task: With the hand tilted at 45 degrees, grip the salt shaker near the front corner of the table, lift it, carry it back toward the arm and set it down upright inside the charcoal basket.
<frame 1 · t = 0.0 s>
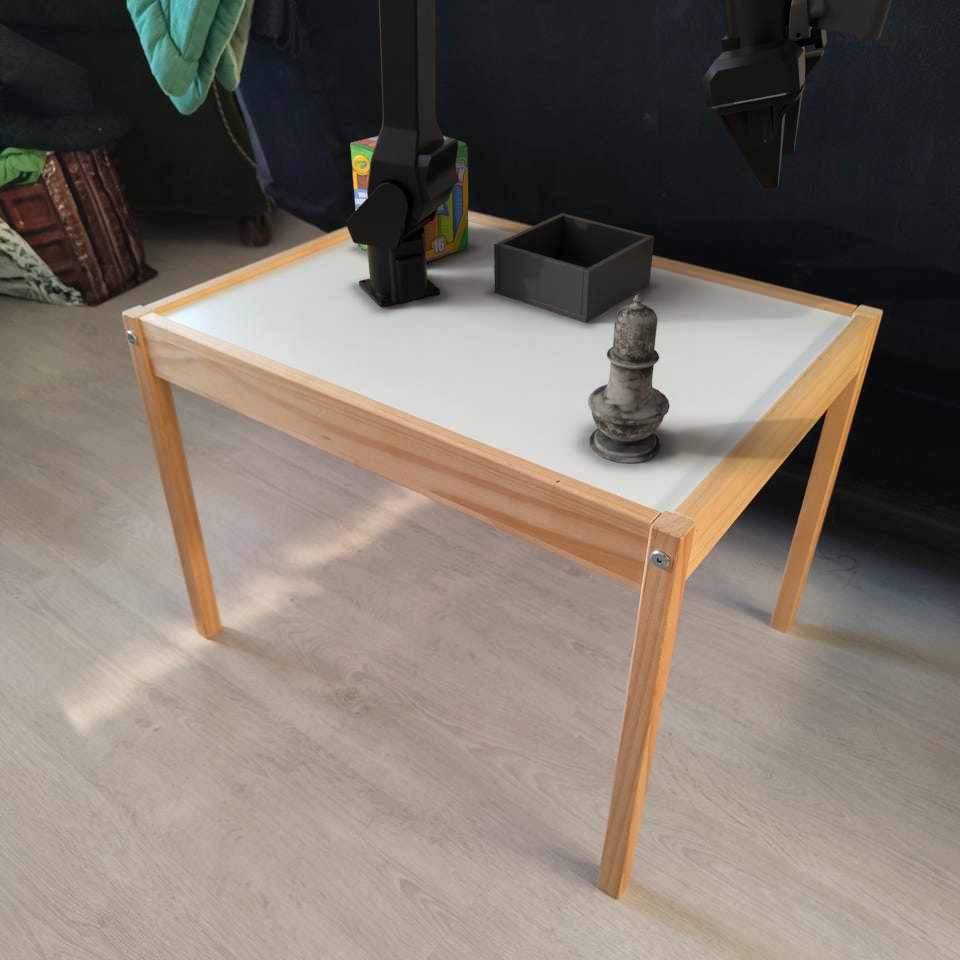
hand: (779, 170, 70), 15 cm above the table, tool pointing down, fingers open, 9 cm apart
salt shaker: (624, 445, 67), on the table
chalk box: (414, 250, 100), on the table
basket: (572, 289, 90), on the table
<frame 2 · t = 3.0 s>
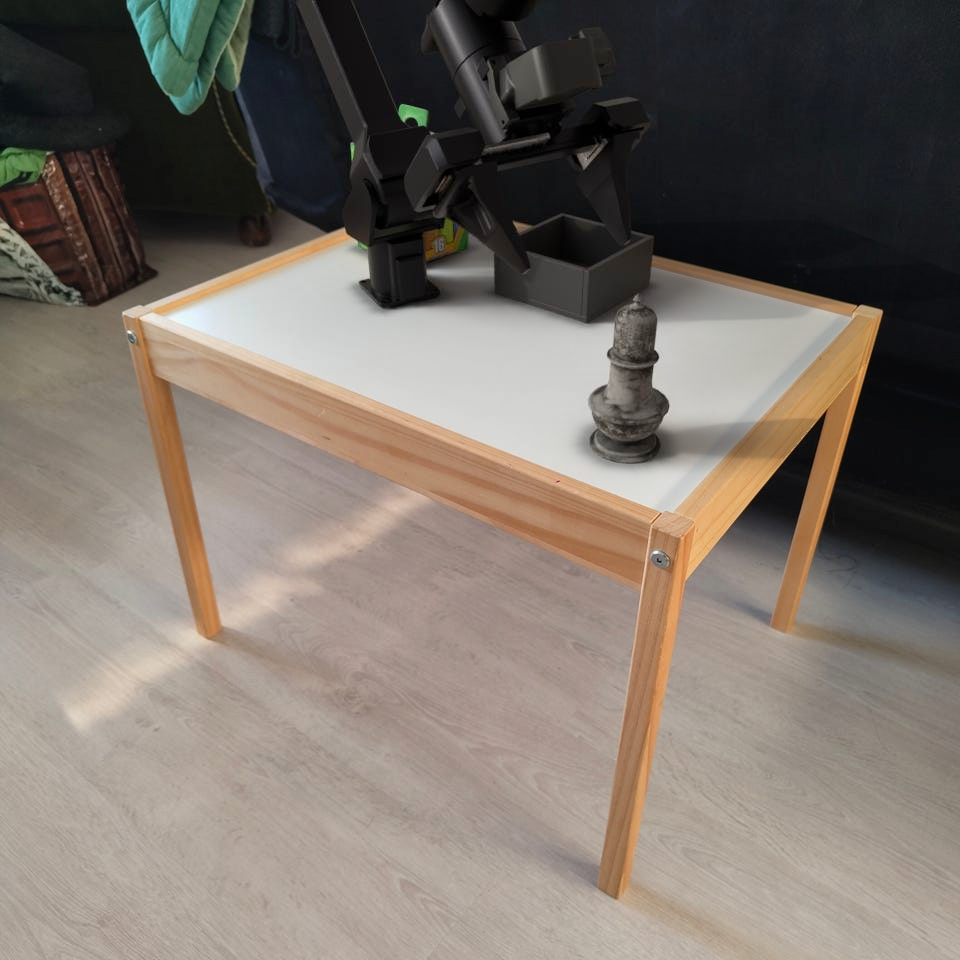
hand: (578, 256, 64), 13 cm above the table, tool tilted 45°, fingers open, 9 cm apart
nothing on the table moved.
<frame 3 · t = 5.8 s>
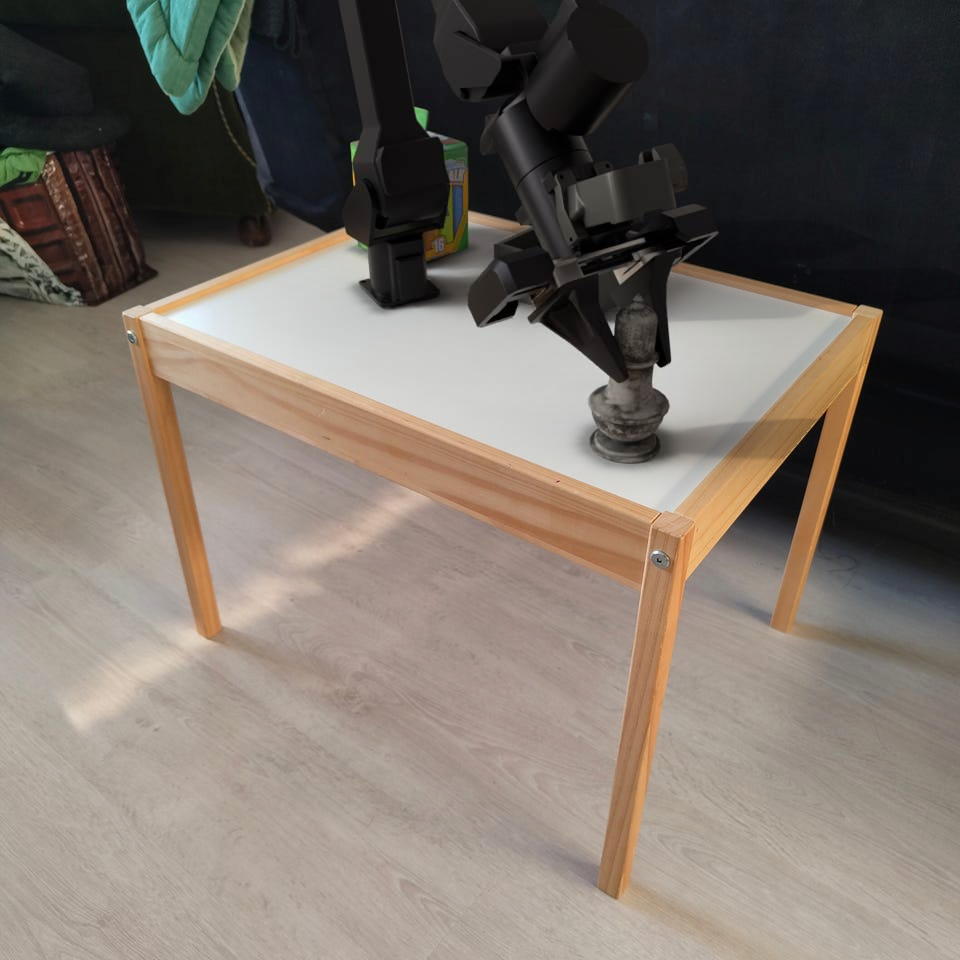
hand: (645, 373, 62), 7 cm above the table, tool tilted 45°, fingers closed on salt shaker, 3 cm apart
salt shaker: (624, 445, 67), on the table, touching gripper
everything else where it was.
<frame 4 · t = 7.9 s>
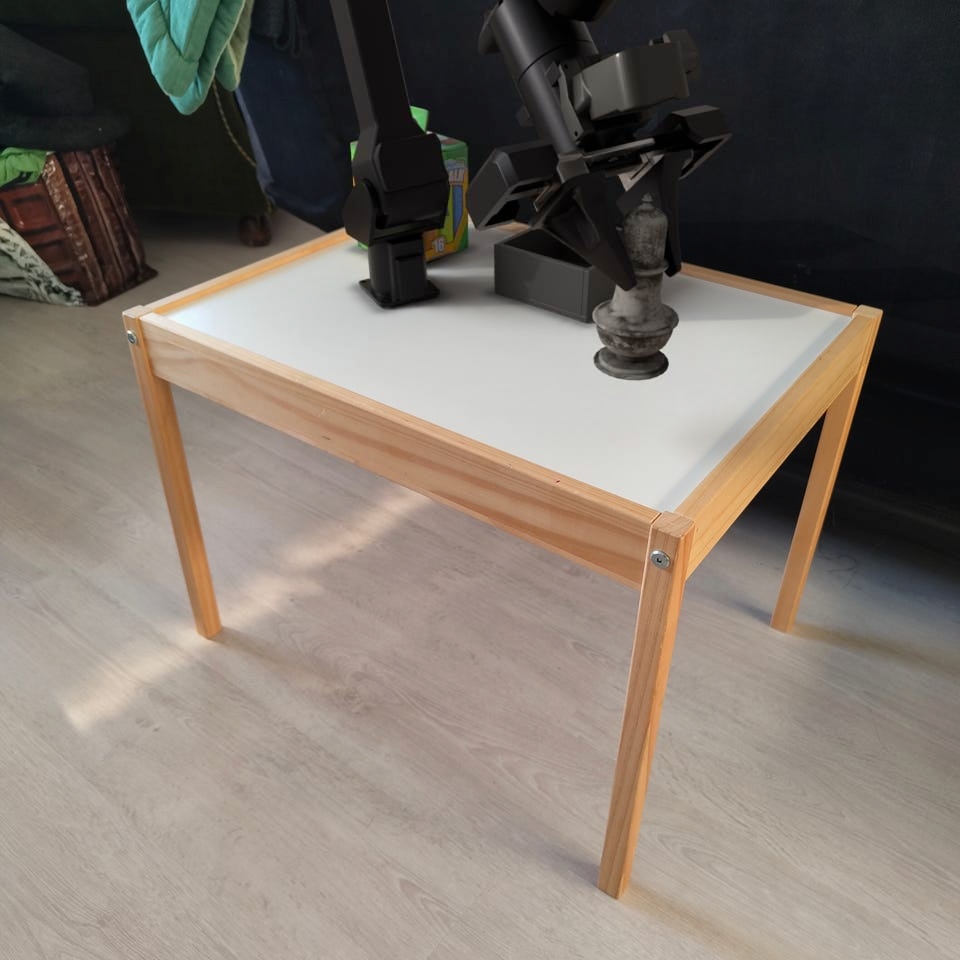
hand: (653, 281, 59), 13 cm above the table, tool tilted 45°, fingers closed on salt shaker, 3 cm apart
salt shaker: (630, 364, 63), point 7 cm above the table, touching gripper
everything else where it was.
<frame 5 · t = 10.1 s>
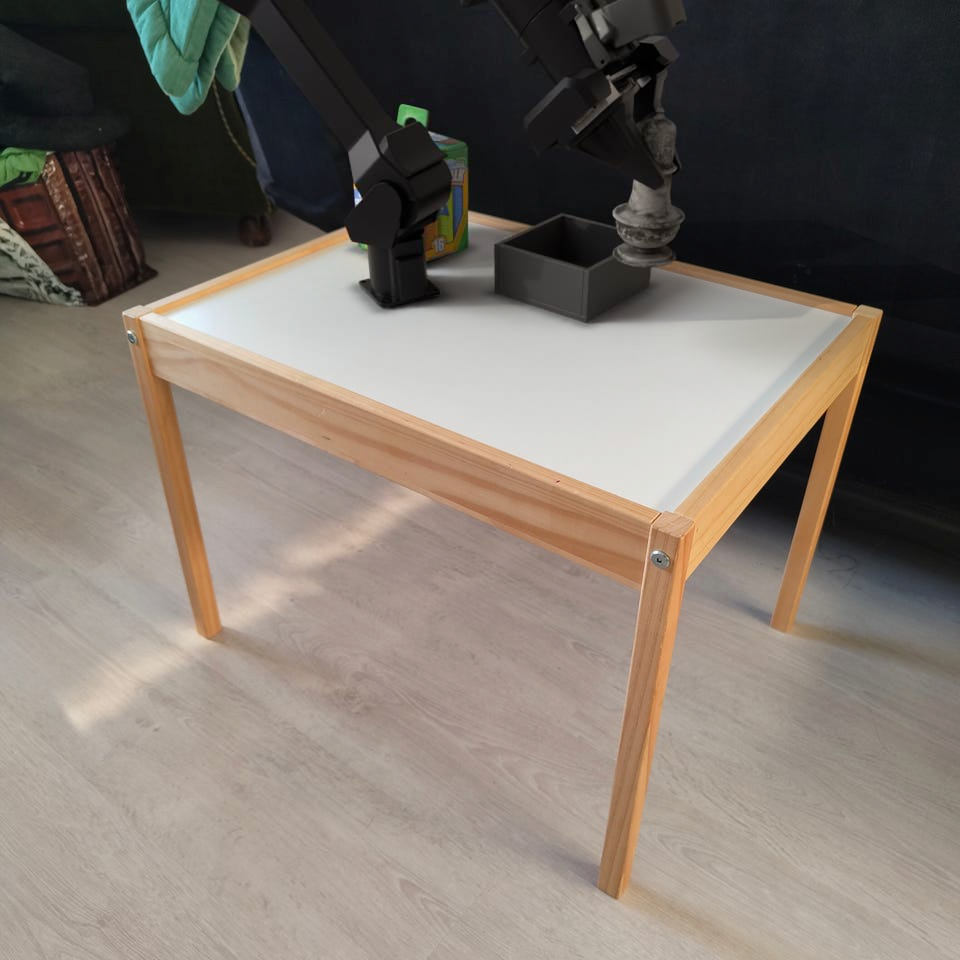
hand: (668, 179, 71), 15 cm above the table, tool tilted 45°, fingers closed on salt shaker, 3 cm apart
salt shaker: (643, 257, 76), point 8 cm above the table, touching gripper
everything else where it was.
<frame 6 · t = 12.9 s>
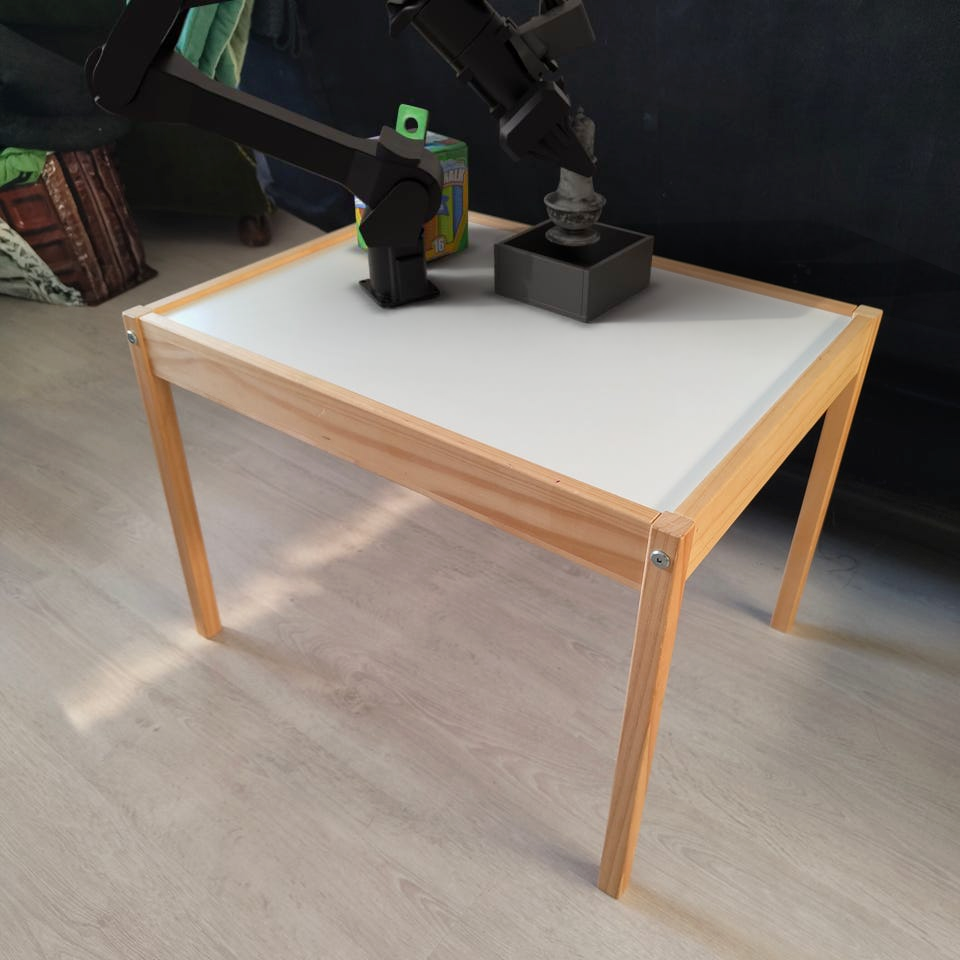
hand: (591, 167, 83), 12 cm above the table, tool tilted 45°, fingers closed on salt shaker, 3 cm apart
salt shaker: (572, 238, 87), point 5 cm above the table, touching gripper
everything else where it was.
when the fingers open (7 cm above the table, at t = 14.6 s): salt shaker stays where it is, resting on basket.
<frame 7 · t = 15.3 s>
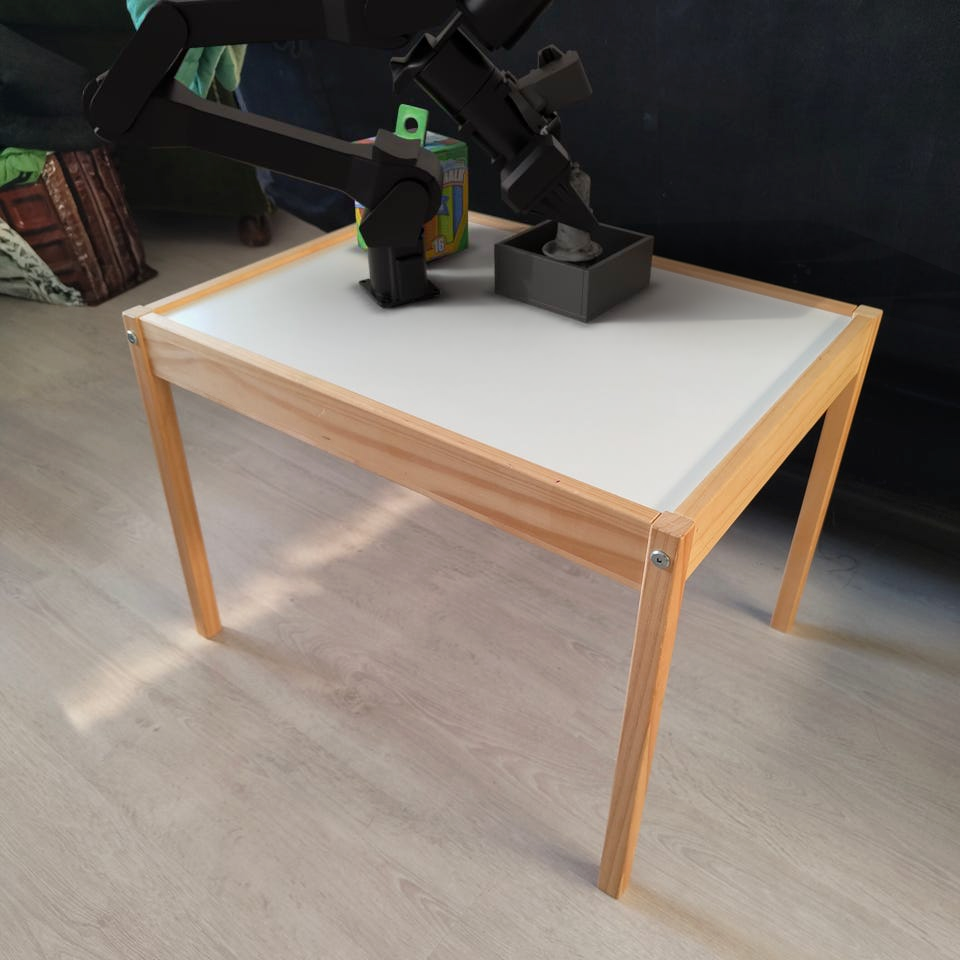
hand: (590, 212, 86), 8 cm above the table, tool tilted 45°, fingers open, 9 cm apart
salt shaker: (570, 285, 90), resting on basket
everything else where it was.
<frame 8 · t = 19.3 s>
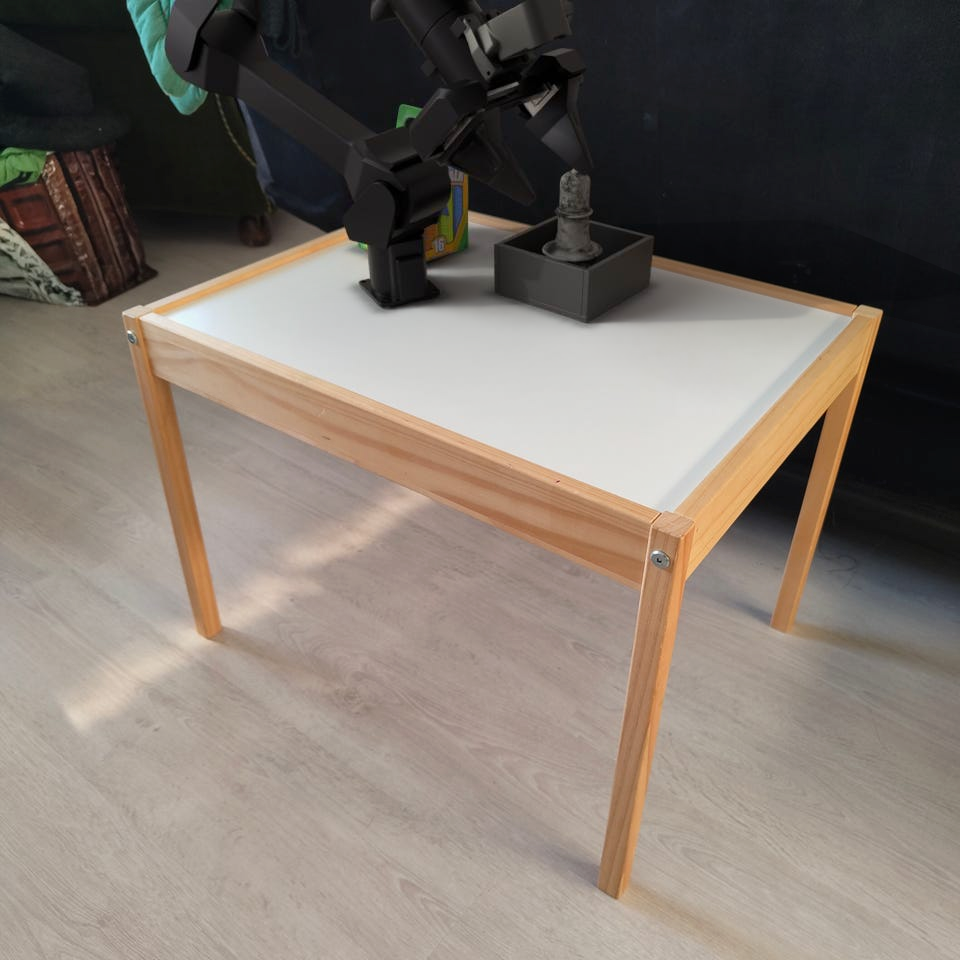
hand: (561, 186, 74), 14 cm above the table, tool tilted 45°, fingers open, 9 cm apart
nothing on the table moved.
at the end: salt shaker inside the target area in the basket (0.1 cm from its centre), point 0.4 cm above the basket's base; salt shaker tilted 0°; the gripper is holding nothing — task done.
